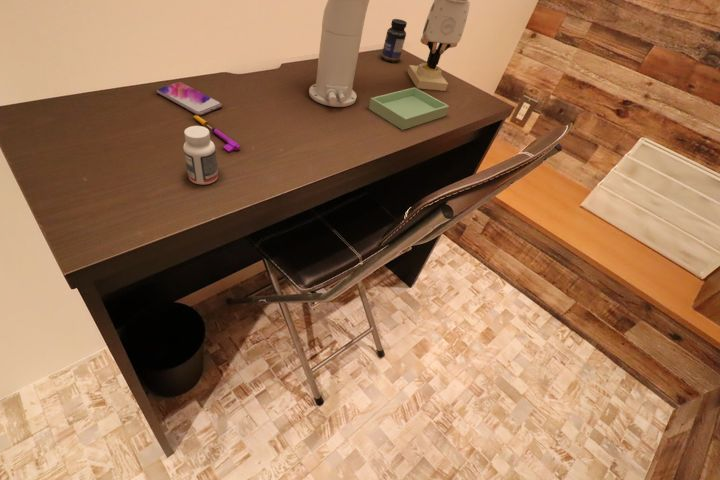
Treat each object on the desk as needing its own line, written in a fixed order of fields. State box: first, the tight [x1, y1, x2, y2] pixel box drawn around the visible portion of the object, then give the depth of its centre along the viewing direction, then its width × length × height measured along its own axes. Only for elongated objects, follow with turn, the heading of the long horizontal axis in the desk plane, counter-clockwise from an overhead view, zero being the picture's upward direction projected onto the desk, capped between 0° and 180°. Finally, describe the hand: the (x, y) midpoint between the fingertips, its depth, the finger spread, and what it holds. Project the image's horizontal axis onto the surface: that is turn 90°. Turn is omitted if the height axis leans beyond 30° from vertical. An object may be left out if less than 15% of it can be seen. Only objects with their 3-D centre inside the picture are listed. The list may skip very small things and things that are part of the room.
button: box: [423, 65, 437, 71], centre depth 109 cm, size 4×4×2 cm
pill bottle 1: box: [182, 125, 219, 186], centre depth 63 cm, size 5×5×9 cm
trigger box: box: [406, 62, 449, 92], centre depth 110 cm, size 12×9×4 cm
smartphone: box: [156, 81, 223, 116], centre depth 85 cm, size 7×1×15 cm
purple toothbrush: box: [193, 114, 241, 153], centre depth 76 cm, size 3×1×16 cm
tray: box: [368, 86, 450, 131], centre depth 94 cm, size 17×12×3 cm
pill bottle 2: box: [381, 18, 408, 63], centre depth 117 cm, size 6×6×11 cm
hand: (431, 66), depth 109 cm, fingers closed
